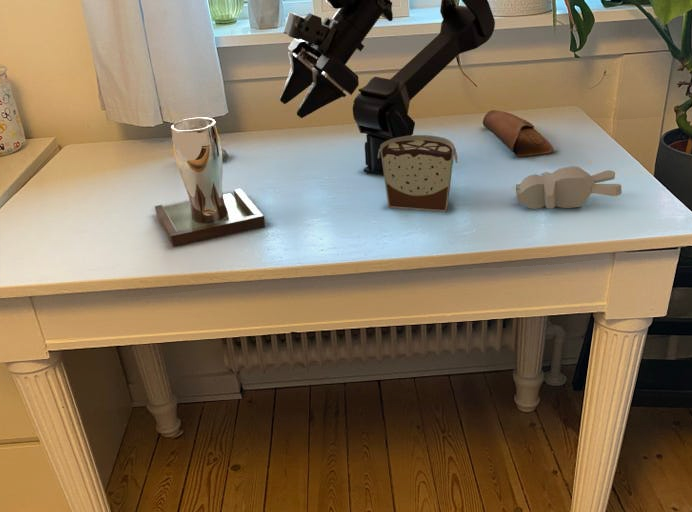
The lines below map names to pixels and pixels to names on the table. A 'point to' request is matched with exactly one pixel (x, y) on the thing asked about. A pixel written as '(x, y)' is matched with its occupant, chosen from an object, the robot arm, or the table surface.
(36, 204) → the table surface
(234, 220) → the dock
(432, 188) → the food container
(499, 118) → the sunglasses case
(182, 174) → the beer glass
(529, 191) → the bunny figurine
